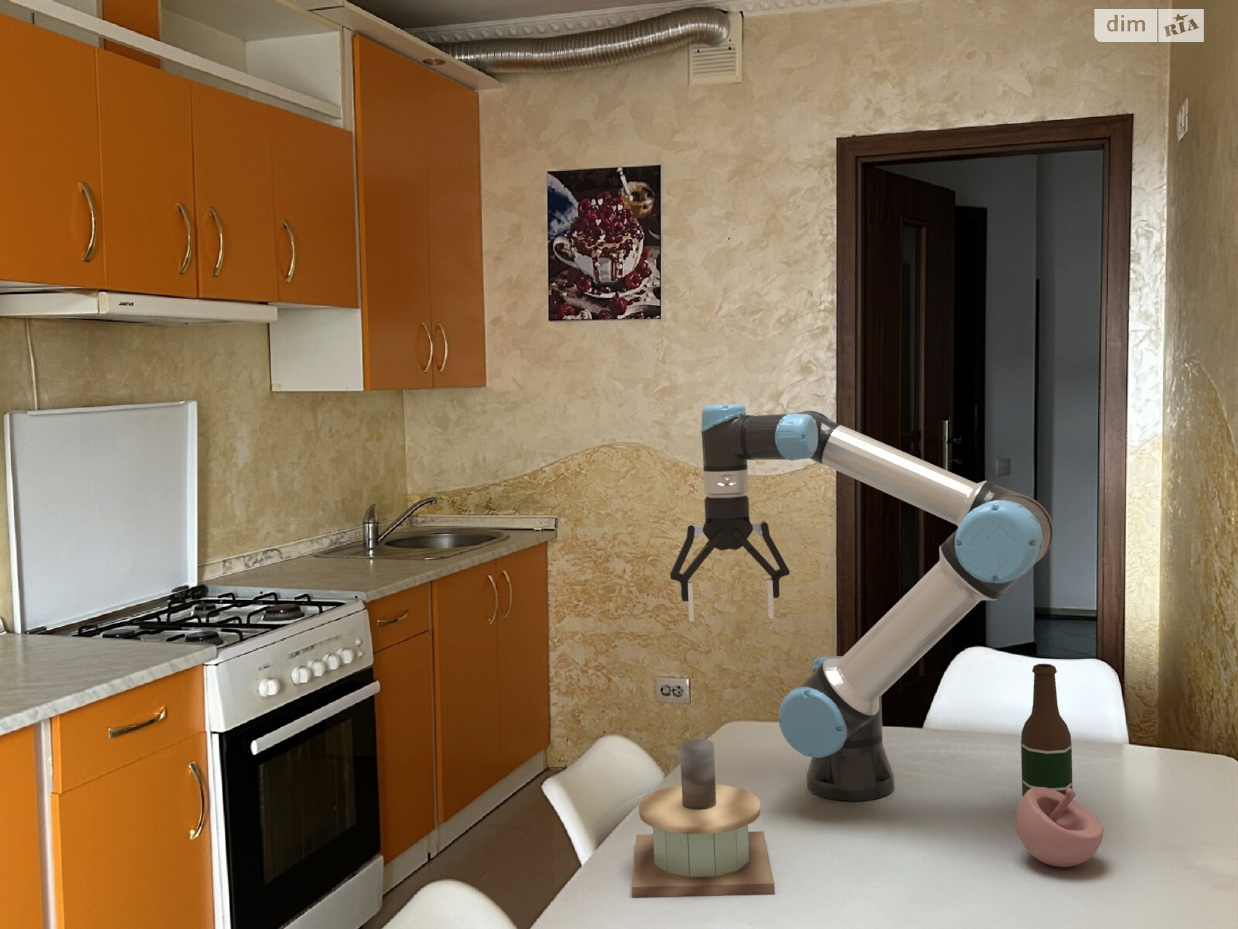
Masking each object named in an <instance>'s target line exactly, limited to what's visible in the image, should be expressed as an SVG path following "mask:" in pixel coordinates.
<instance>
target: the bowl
mask: <svg viewBox="0 0 1238 929" xmlns="http://www.w3.org/2000/svg"><path fill="white" fill-rule="evenodd" d="M748 832H749V824H748V825H746V826H744V827H741V828H738V829H735V830H731V831H726V832H719V833H711V834H682V833H674V832H668V831H663V830H660V829H656V828H654V827H652V834H653V845H654V864H655V865H657V866H658V867H660V868H661V869H663V870H664V871H666V872H668V873H673V874H678V875H683V876H687V877H689V876H690V877H706V876H719V875H722V874H726V873H730V872H734V871H737V870H739V869H740V868H741V867H743V866H744V865H745V864H747V863H748V862H749V842H748Z"/></svg>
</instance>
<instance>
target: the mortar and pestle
mask: <svg viewBox="0 0 1238 929" xmlns="http://www.w3.org/2000/svg"><path fill="white" fill-rule="evenodd" d="M1075 797H1076V791H1075V790H1074V789H1073V790H1072V789H1071V788H1067V790H1066V795H1063V794H1061V793H1060V792H1058V791H1055V790H1053V789H1050V788H1045V787H1038V788H1035V787H1033V788H1031V789H1029V790H1028V791H1027V792H1026V794H1025V795H1024V796H1023V797H1021V799H1020V801H1019V803H1018V805H1017V807H1016V808H1017V809H1016V811H1015V812H1016V813H1015V828H1016V833H1017V836H1018V838H1019V840H1020V842H1021V844H1022V845H1023V847H1024V848H1025V850H1027V852H1028V853H1029V854H1030V855H1031V856H1033V857H1034V858H1035V859H1037V860H1038V861H1039V862H1042V863H1044V864H1047V865H1048V866H1052V867H1056V868H1057V867H1058V868H1071V867H1075V866H1079V865H1081V864H1082V863H1085V862H1086V861H1088V860H1089V859H1090V858H1092V857H1093V856H1094V855H1095V854H1096V853H1097V851H1098V849H1099V847H1100V846H1101V844H1102V840H1103V836H1104V832H1105V830H1104V827H1103V825H1102V823H1101V822H1100V821H1099V819H1098V818H1097V817H1095V815H1094V814H1092V812H1090V811H1089V810H1088V809H1087V808H1085V807H1084V806H1083V805H1081V804H1080V803H1078V802H1077V801H1076V800H1075Z"/></svg>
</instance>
